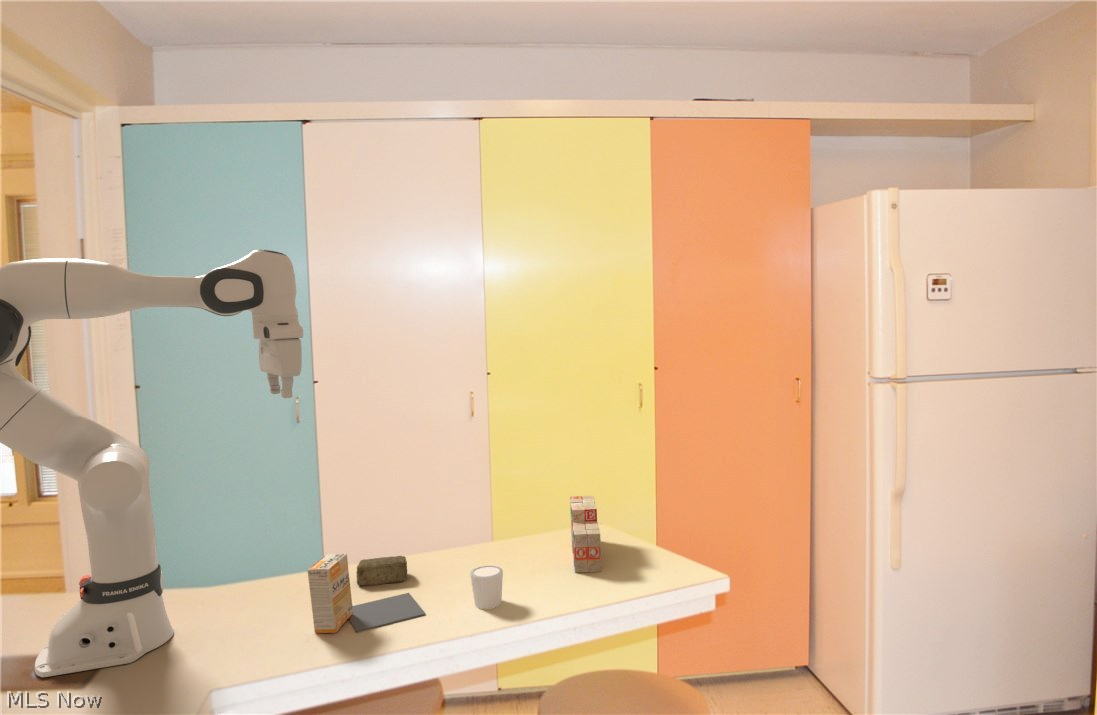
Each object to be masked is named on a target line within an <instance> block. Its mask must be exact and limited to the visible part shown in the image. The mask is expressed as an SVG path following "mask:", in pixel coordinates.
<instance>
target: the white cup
mask: <svg viewBox="0 0 1097 715" xmlns="http://www.w3.org/2000/svg"><path fill="white" fill-rule="evenodd" d="M503 571H504V570H503V568H501V567H499V566H496V565H482V566H478V567H475V568H474V569H472V570H471V571H470V572H469V575H470V582H471V588H472V594H473V595H472V596H473V601H474V607H475V608H477V609H480V610H491V609H492V608H493V609H495V607H496V608H497V607H500V606H501V605H502V599H503V576H504V572H503ZM493 609H492V610H493Z"/></svg>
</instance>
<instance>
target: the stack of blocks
mask: <svg viewBox="0 0 1097 715" xmlns="http://www.w3.org/2000/svg"><path fill="white" fill-rule="evenodd" d="M569 506H570V509H569V510H570V528H571V529H570V531H571V532H570V534H571V549H572V554H573V555H572V556H573V568H574V573H575V574H576V573H597V572H598V573H599V572H601V571H602V570H601V569H602V566H601V558H602V556H601V555H602V554H601V545H602V544H601V543H602V541H601V531H600V528H599V527H600V526H599V522H598V510H597V509H598V508H597V506H596V501H595V496H594V495H578V496H577V495H575V496H574V495H573V496H569Z"/></svg>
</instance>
